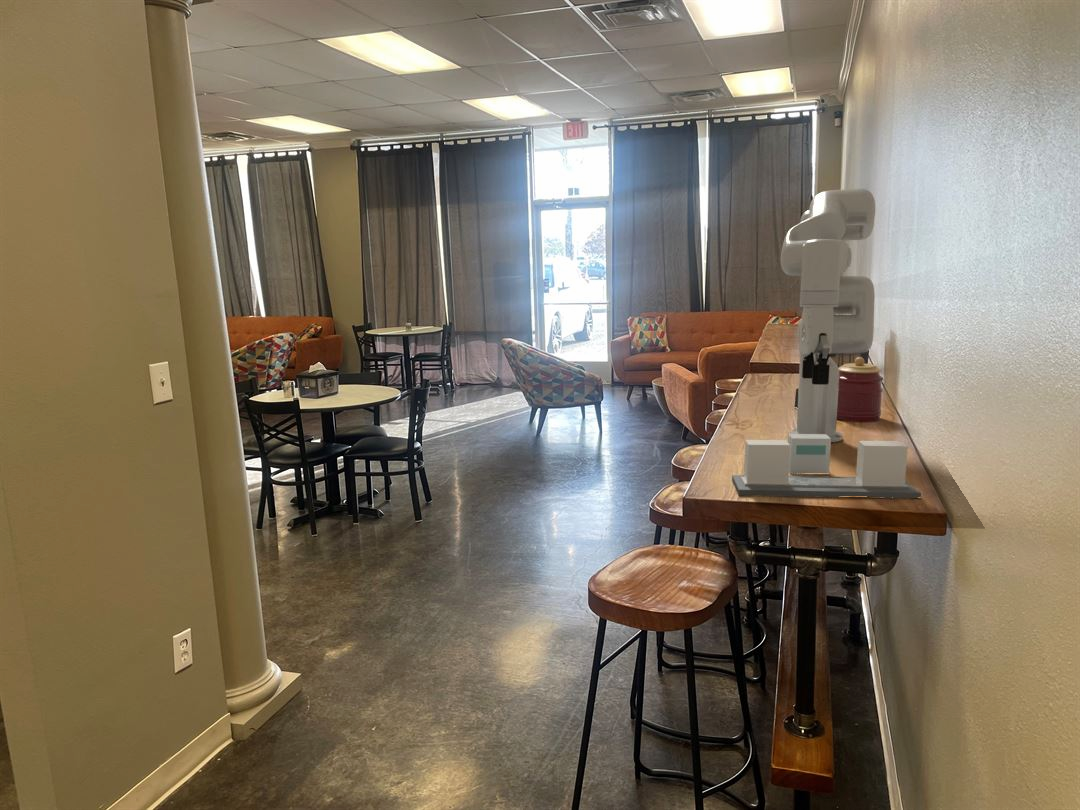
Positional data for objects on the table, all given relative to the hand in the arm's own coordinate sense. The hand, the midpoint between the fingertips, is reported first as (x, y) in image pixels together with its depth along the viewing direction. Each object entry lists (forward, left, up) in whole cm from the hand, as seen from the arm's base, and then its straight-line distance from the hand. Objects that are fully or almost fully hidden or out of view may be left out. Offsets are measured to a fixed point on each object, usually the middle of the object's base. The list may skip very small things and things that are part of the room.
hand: (814, 381), depth 154 cm
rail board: (+12, 0, -20) cm, 24 cm away
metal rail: (+12, 0, -19) cm, 23 cm away
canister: (-56, +26, -20) cm, 65 cm away
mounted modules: (+12, 0, -18) cm, 22 cm away
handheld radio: (-79, +19, -21) cm, 84 cm away
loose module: (0, 0, -20) cm, 20 cm away
